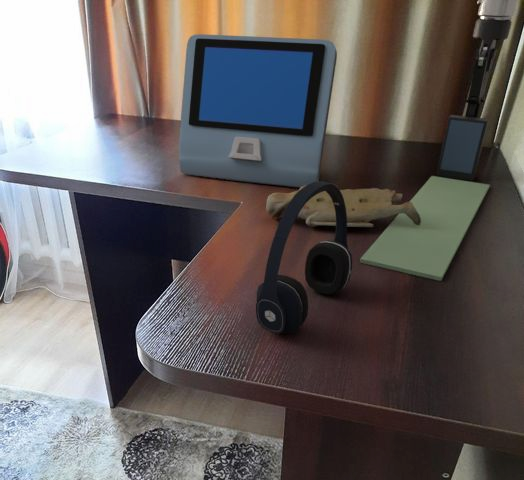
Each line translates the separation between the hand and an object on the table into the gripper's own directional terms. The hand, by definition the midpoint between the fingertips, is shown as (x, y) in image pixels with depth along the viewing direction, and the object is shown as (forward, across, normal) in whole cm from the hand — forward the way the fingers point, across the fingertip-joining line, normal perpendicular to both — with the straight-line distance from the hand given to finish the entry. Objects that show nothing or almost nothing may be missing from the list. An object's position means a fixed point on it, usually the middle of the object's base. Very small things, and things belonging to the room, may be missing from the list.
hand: (467, 131), depth 126 cm
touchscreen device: (+11, +28, -45) cm, 54 cm away
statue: (+10, +48, -14) cm, 51 cm away
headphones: (+11, +82, -7) cm, 83 cm away
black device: (+10, +4, 0) cm, 11 cm away
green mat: (+10, +36, +2) cm, 38 cm away
